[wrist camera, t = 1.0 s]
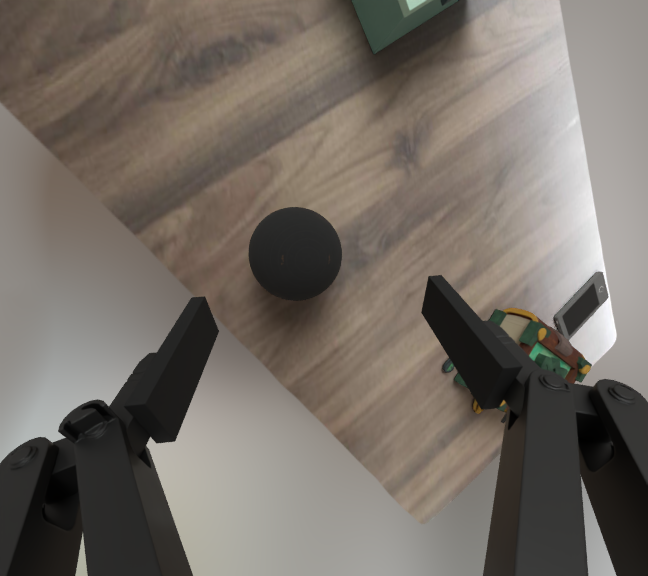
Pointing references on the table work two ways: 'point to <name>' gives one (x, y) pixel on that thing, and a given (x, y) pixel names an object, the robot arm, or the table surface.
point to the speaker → (295, 253)
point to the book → (536, 347)
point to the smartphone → (582, 306)
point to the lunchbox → (394, 18)
